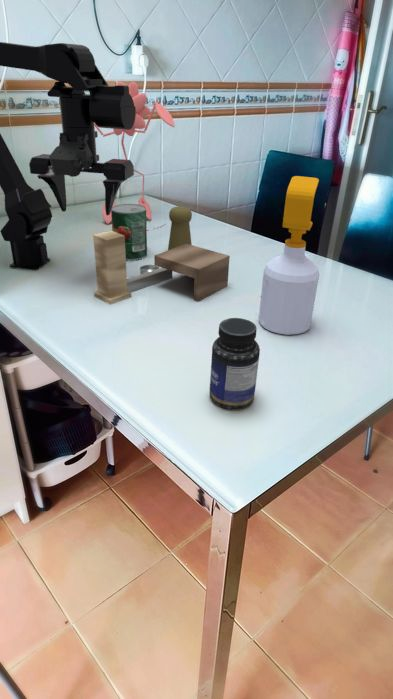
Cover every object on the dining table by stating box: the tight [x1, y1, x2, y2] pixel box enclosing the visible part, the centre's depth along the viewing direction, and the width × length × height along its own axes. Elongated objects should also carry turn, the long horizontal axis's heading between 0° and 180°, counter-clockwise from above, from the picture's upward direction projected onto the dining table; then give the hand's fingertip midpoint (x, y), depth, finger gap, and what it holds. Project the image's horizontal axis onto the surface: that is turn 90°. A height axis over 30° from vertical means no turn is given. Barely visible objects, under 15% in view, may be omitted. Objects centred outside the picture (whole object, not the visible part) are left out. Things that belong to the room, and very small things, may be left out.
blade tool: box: [92, 230, 173, 305], centre depth 93 cm, size 5×18×12 cm, turn 136°
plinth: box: [154, 244, 231, 302], centre depth 95 cm, size 11×10×6 cm
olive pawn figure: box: [167, 205, 193, 251], centre depth 111 cm, size 6×6×11 cm
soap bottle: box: [258, 175, 320, 336], centre depth 78 cm, size 9×9×25 cm
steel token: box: [139, 264, 160, 275], centre depth 101 cm, size 4×4×2 cm
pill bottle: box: [209, 317, 261, 411], centre depth 62 cm, size 6×6×11 cm
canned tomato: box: [111, 203, 148, 261], centre depth 109 cm, size 8×8×11 cm
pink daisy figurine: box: [88, 81, 176, 230], centre depth 124 cm, size 15×26×35 cm, turn 110°
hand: (85, 213), depth 94 cm, fingers open, 9 cm apart
